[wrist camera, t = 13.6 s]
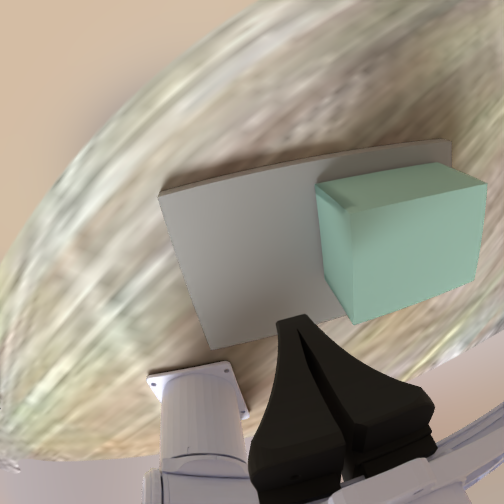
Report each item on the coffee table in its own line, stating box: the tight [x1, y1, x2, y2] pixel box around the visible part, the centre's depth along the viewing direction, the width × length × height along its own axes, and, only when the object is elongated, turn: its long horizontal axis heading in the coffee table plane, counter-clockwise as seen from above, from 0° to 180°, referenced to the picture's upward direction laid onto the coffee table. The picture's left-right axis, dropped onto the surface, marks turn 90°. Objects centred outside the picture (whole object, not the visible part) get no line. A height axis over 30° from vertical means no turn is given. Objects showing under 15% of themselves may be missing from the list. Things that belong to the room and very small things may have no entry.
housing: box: [315, 162, 487, 325], centre depth 19 cm, size 7×10×5 cm
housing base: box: [157, 139, 452, 350], centre depth 22 cm, size 13×22×4 cm, turn 101°
